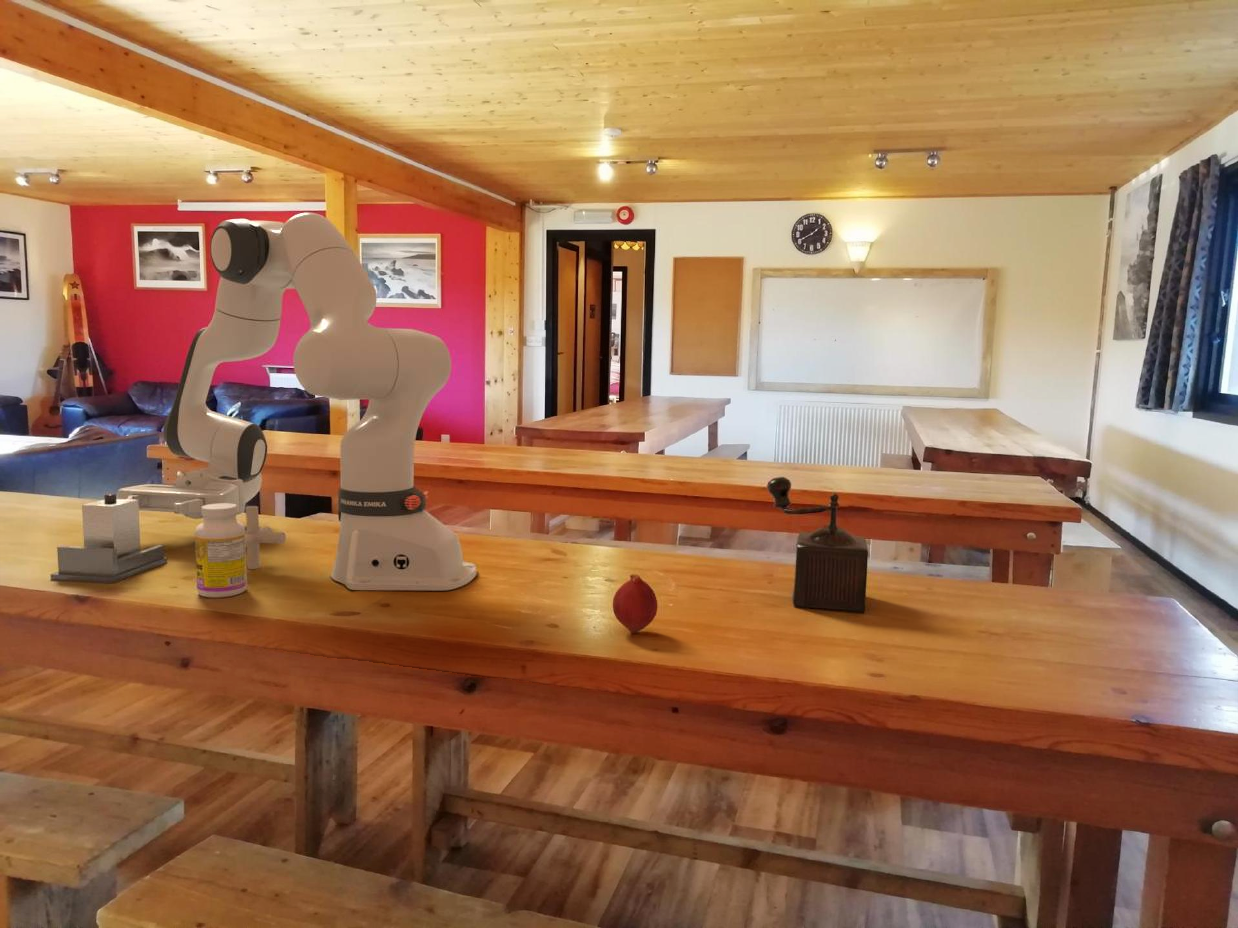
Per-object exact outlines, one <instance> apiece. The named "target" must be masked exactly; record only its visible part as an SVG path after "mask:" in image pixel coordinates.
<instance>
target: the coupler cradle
mask: <svg viewBox="0 0 1238 928" xmlns="http://www.w3.org/2000/svg"><path fill="white" fill-rule="evenodd" d="M56 549H57V550H56V552H57V569H58V571H57V572H53V573H51V574H50V580H52V581H53V580H54V581H66V582H67V581H69V582H70V581H71V582H82V583H83V582H84V583H99V584H100V583H102V584H103V583H104V584H114V583H117V582H120V581H123V580H125V579H128V578H130V577H132V576H136V575H138V574H141V573H143V572H146V571H149V570H151V569H154V568H157V567H159V566H162V565H164V564H168V557H165V546H164V545H162V544H161V545H159V544H157V545H154V546H152V547H149V548H145V549H143V550H141V551H140V552H137V553H134V554H131V555H128V556H125V557H123V558H120V559H118V558H117V549H113V548H96V547H84V546H74V545H59V546H57V547H56ZM140 572H141V573H140Z"/></svg>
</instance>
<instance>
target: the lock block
mask: <svg viewBox="0 0 1238 928" xmlns="http://www.w3.org/2000/svg"><path fill="white" fill-rule="evenodd" d="M103 497H104V498H103V499H102V500H97V501H92V502H89V503H83V504H82V505H81V510H82V531H83V534H82V535H83V547H96V548H113V549H117V558H118V559H120V558H123V557H125V556H128V555H131V554H134V553H137V552H140V551H142V550H141V533H140V532H141V529H140V527H141V526H140V510H139V505H138V500H130V499H117V493H106V494H104V496H103Z"/></svg>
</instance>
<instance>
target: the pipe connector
mask: <svg viewBox="0 0 1238 928" xmlns="http://www.w3.org/2000/svg"><path fill="white" fill-rule="evenodd" d="M245 518H246V521H245V522H246V523H245V524H246V527H245V528H246V530H245V545H246V562H247V569H248V570H249V569H250V570H257V569H260V567H261V562H260V561H261V560H260V544H285V542H286V535H287V534H286V532H284V531H283V532H282V531H281V532H279V531H272V529H271V527H270V526H269V525H263V526H260V527H259V524H260V523H259V506H258V505H257V506H256V505H247V506H246V507H245Z"/></svg>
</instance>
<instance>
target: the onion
mask: <svg viewBox="0 0 1238 928" xmlns="http://www.w3.org/2000/svg"><path fill="white" fill-rule="evenodd" d="M629 577H630V579H629V580H628V581H626V582H625V583H623V584H622V585H621V586H620V587H619V588H618V589H617V591H616V592H615V594H614V597H613V598H612V599H613V600H612V609H613V614H614V616H615V618H616V620H617V622H619V623H620V624H621V625H622V626H624V627H625V628H626V629H627V630H628V631H629V632H630V633H632V634H637V633H639V632H640V631H641V630H643V629H645V628H646V627H648V626H649V625H650V624H651V623H652V621H654V619H655V617H656V616H657V613H658V608H659V607H658V600H657V599H658V598H657V596H656V593H655V591H654V590H653V588H652V587H651V586H650V585H649V584H648V583H647V582H646V581H644V580H643V579H642V578H641V577H640V575H639V574H637V573H631V574H630V575H629Z"/></svg>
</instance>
